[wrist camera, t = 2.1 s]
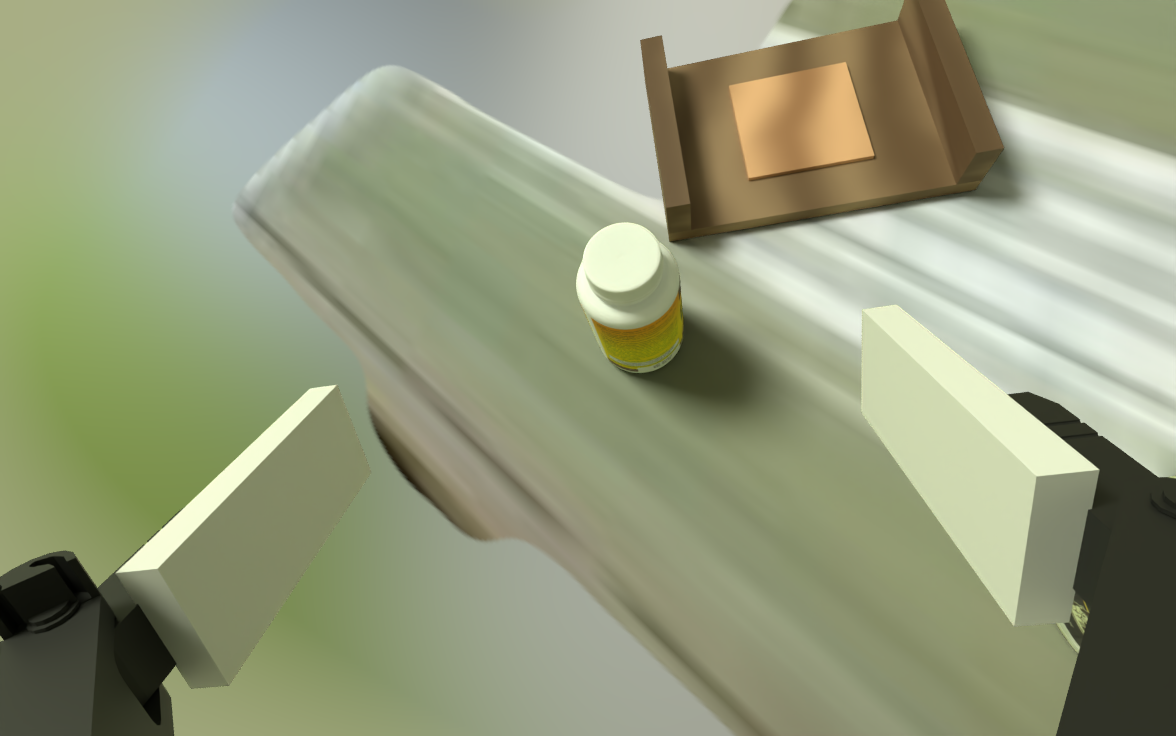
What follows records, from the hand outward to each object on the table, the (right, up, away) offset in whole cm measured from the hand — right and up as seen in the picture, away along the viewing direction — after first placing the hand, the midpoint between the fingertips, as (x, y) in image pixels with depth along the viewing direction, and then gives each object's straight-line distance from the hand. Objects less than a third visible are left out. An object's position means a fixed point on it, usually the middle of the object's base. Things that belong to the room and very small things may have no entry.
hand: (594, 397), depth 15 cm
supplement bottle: (+3, +3, +24) cm, 25 cm away
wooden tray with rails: (+14, +17, +27) cm, 35 cm away
